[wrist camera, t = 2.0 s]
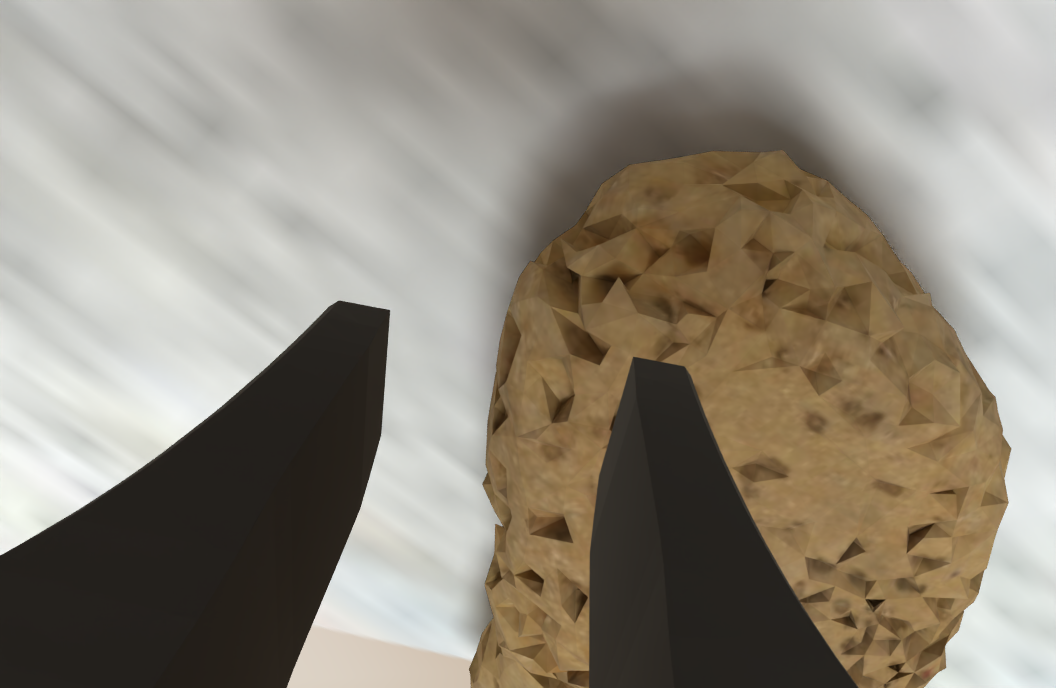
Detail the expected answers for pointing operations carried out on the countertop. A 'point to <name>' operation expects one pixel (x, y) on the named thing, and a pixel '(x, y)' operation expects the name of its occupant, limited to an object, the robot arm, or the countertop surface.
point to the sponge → (744, 412)
